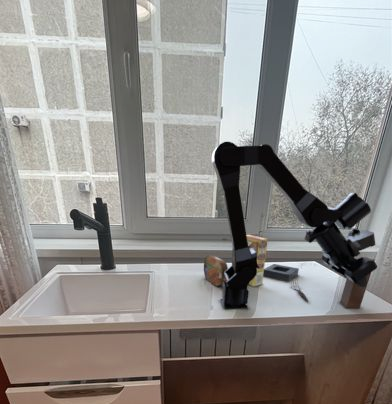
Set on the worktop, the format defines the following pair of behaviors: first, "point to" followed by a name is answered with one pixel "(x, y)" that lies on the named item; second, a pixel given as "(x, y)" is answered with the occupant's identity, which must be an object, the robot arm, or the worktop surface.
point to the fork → (298, 289)
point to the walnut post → (353, 294)
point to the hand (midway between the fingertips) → (361, 283)
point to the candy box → (258, 256)
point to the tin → (215, 270)
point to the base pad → (280, 272)
